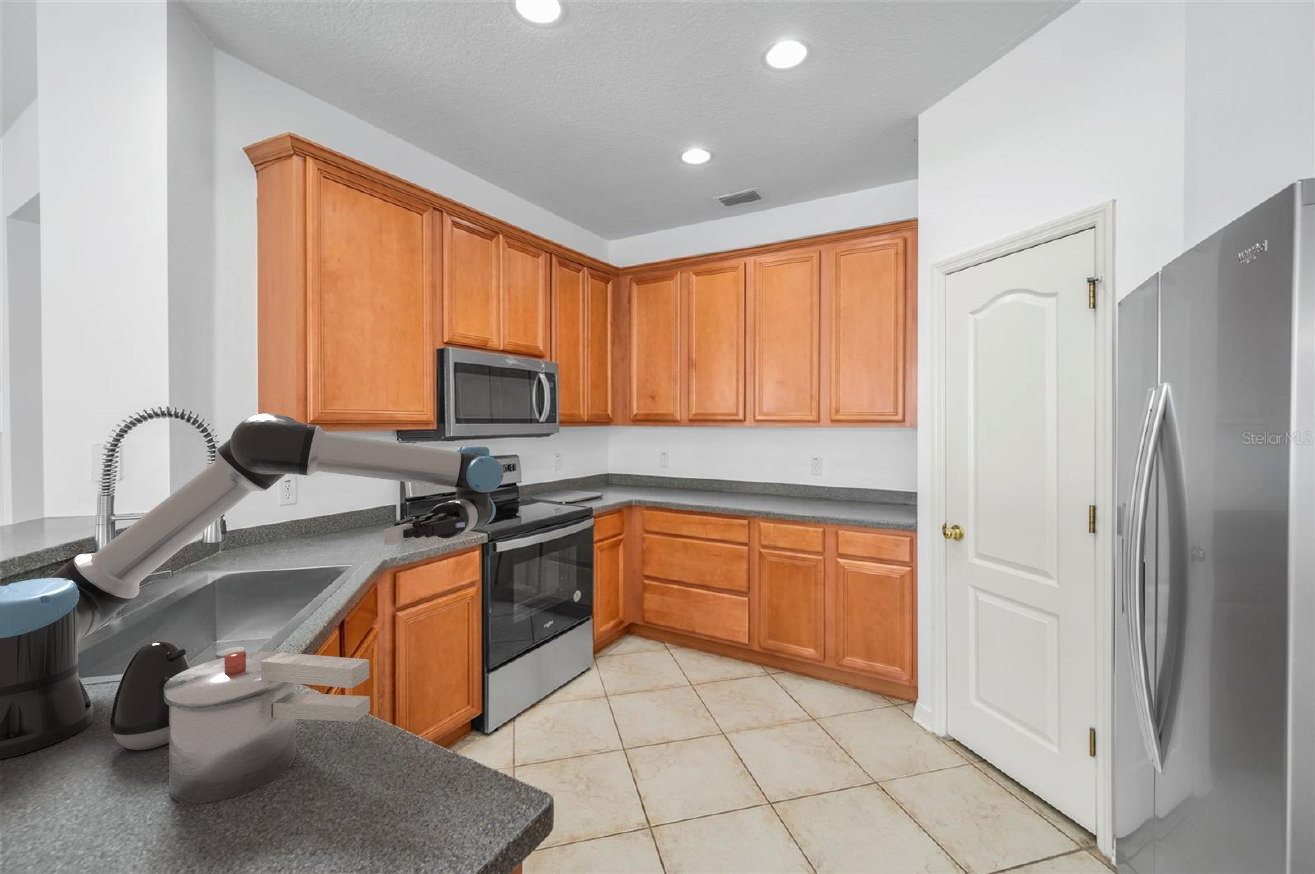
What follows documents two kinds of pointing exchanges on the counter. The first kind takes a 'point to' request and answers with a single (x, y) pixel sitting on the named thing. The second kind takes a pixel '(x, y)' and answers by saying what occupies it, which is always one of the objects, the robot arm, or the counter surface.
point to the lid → (259, 677)
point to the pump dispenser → (146, 696)
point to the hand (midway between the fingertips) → (388, 536)
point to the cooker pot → (244, 741)
